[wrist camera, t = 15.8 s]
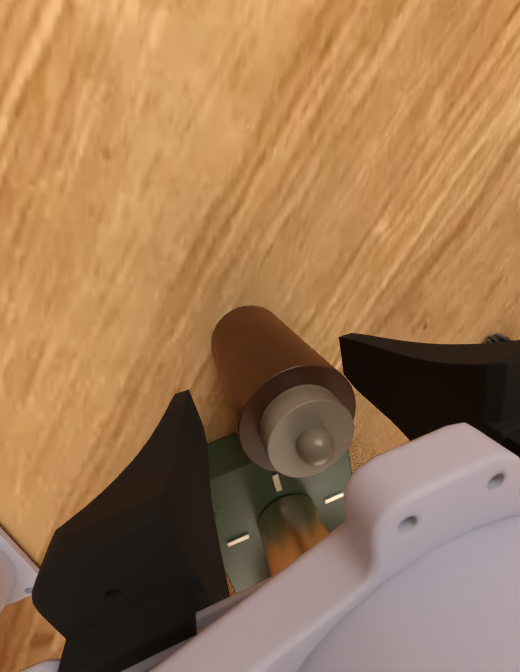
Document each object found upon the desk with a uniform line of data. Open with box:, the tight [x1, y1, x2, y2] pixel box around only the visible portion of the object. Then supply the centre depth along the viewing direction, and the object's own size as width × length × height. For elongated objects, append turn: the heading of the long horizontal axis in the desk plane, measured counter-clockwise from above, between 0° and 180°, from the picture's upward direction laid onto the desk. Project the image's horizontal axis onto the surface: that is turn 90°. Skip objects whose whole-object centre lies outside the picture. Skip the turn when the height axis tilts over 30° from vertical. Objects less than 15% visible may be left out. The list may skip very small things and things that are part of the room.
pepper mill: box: [212, 306, 356, 478], centre depth 13 cm, size 4×4×10 cm
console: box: [207, 433, 352, 593], centre depth 20 cm, size 10×11×3 cm
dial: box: [258, 494, 329, 577], centre depth 17 cm, size 4×4×4 cm
